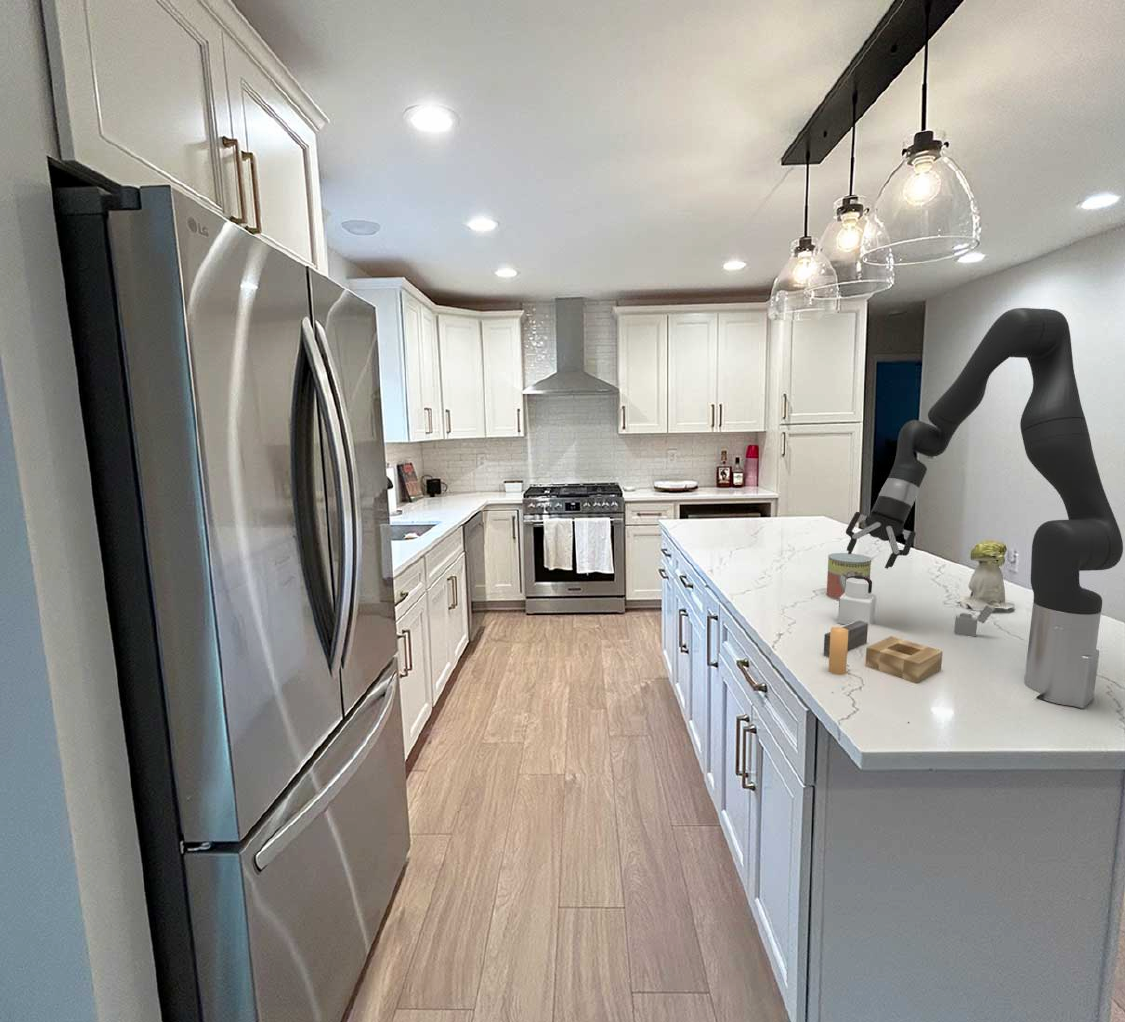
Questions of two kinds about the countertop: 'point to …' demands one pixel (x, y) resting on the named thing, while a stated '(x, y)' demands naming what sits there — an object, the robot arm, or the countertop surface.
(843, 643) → the dowel
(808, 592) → the countertop surface
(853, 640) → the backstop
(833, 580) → the canned food
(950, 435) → the robot arm
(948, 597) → the countertop surface
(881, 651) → the socket block
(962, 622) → the lighter
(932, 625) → the countertop surface
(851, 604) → the medicine bottle
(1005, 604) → the mushroom
